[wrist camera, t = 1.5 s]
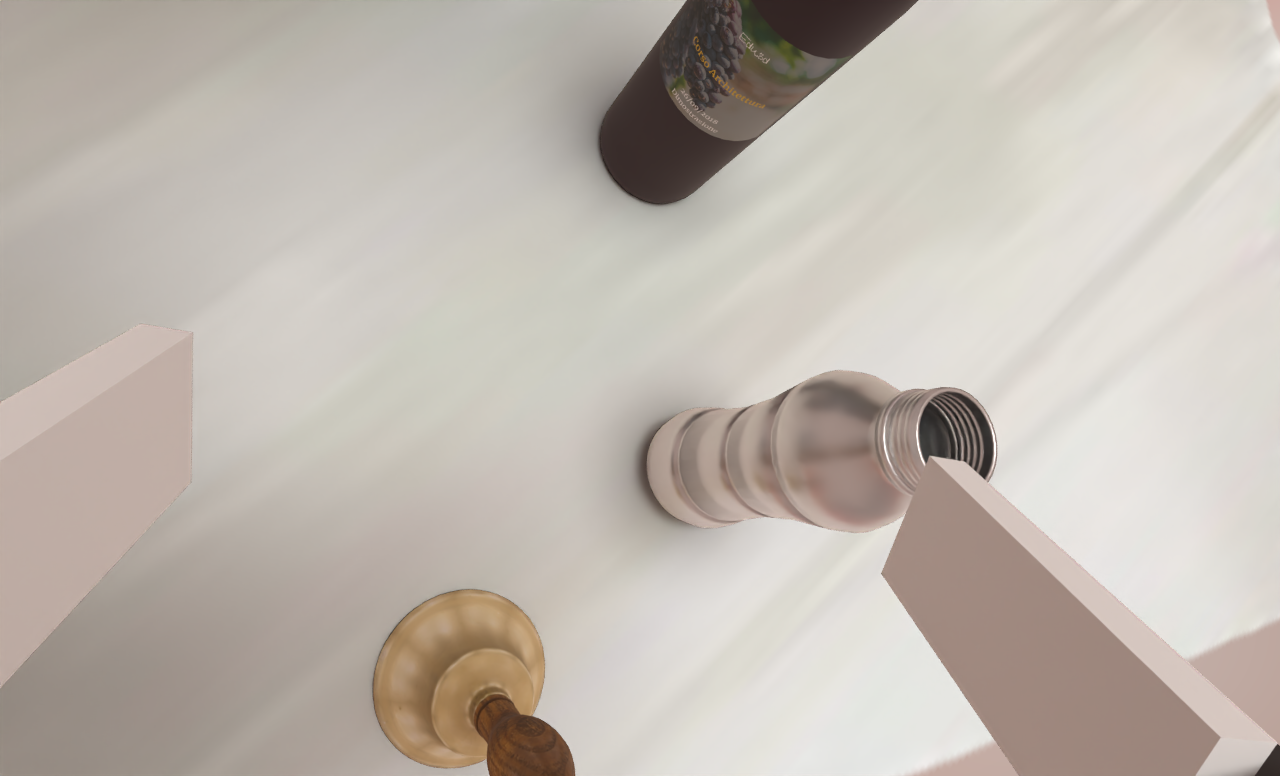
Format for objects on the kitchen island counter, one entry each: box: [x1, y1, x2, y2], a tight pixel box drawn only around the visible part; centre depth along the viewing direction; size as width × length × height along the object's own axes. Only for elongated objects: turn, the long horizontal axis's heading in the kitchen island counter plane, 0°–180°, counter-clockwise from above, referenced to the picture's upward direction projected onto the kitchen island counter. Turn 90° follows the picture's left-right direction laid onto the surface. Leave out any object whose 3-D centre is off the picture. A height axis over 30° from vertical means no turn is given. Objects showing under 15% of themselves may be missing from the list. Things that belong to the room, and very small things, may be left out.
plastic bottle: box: [647, 370, 997, 533], centre depth 33 cm, size 6×7×20 cm
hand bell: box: [373, 590, 575, 776], centre depth 29 cm, size 8×8×16 cm
